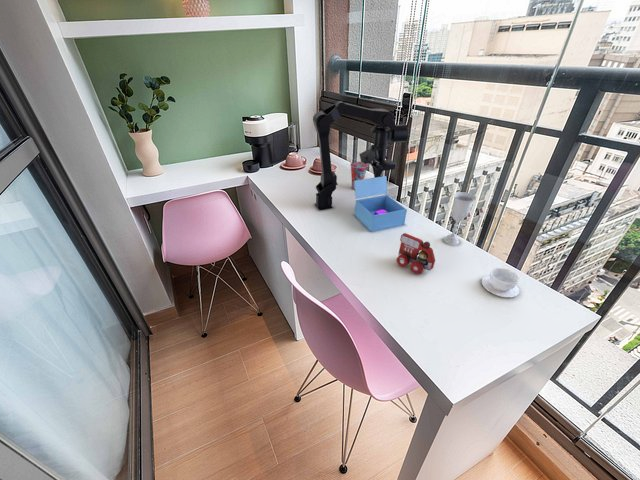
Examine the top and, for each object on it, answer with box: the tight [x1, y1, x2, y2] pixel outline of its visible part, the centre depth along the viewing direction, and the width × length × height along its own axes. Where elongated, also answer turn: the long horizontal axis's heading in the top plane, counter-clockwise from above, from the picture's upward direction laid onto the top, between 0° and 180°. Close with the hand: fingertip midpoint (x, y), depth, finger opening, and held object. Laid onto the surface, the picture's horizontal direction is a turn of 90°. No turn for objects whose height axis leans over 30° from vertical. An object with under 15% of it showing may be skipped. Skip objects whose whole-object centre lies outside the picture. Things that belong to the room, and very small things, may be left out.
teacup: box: [481, 267, 521, 298], centre depth 91 cm, size 10×10×5 cm
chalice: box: [443, 191, 477, 246], centre depth 108 cm, size 7×7×18 cm
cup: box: [349, 161, 369, 190], centre depth 153 cm, size 9×8×12 cm
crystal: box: [374, 209, 387, 215], centre depth 126 cm, size 5×5×5 cm
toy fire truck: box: [396, 232, 436, 275], centre depth 99 cm, size 7×12×10 cm, turn 44°
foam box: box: [354, 194, 408, 233], centre depth 126 cm, size 15×15×7 cm
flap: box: [354, 175, 388, 200], centre depth 128 cm, size 7×15×1 cm
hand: (376, 179), depth 135 cm, fingers closed
